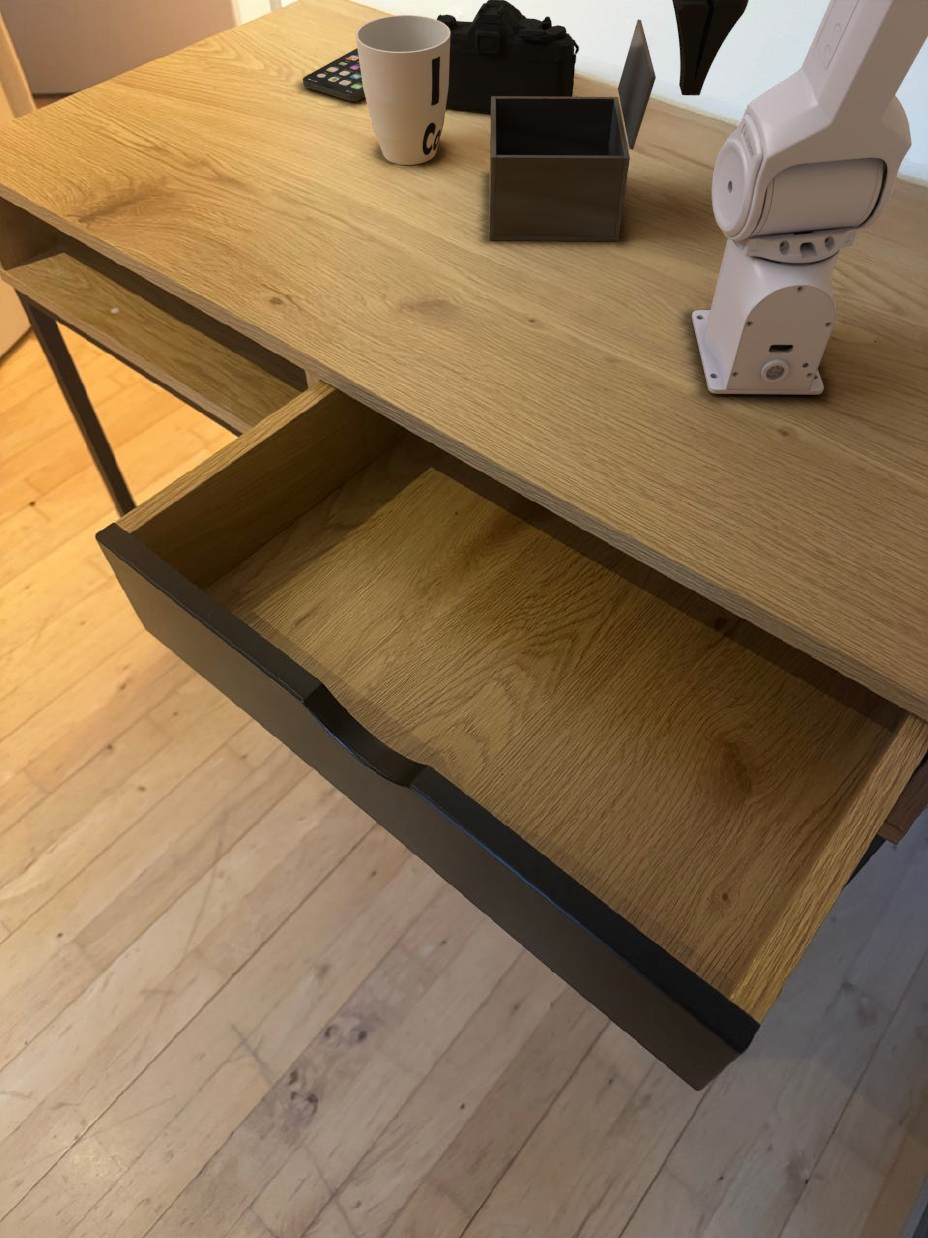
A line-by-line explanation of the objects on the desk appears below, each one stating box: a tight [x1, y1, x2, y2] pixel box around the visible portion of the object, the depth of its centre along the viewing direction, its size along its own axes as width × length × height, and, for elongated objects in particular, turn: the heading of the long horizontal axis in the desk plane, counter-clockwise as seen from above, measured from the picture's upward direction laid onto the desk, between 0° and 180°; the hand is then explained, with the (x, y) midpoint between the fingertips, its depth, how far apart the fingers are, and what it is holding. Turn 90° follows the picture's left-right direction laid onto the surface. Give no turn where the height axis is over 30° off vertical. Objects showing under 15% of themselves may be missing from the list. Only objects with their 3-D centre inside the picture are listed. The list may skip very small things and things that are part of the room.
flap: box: [617, 19, 657, 150], centre depth 71 cm, size 11×5×1 cm
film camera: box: [436, 0, 580, 115], centre depth 89 cm, size 15×10×9 cm, turn 74°
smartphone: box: [302, 48, 366, 102], centre depth 96 cm, size 7×1×15 cm
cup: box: [355, 14, 450, 166], centre depth 81 cm, size 8×8×10 cm
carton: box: [488, 96, 631, 242], centre depth 76 cm, size 11×11×7 cm
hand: (689, 89), depth 71 cm, fingers closed
